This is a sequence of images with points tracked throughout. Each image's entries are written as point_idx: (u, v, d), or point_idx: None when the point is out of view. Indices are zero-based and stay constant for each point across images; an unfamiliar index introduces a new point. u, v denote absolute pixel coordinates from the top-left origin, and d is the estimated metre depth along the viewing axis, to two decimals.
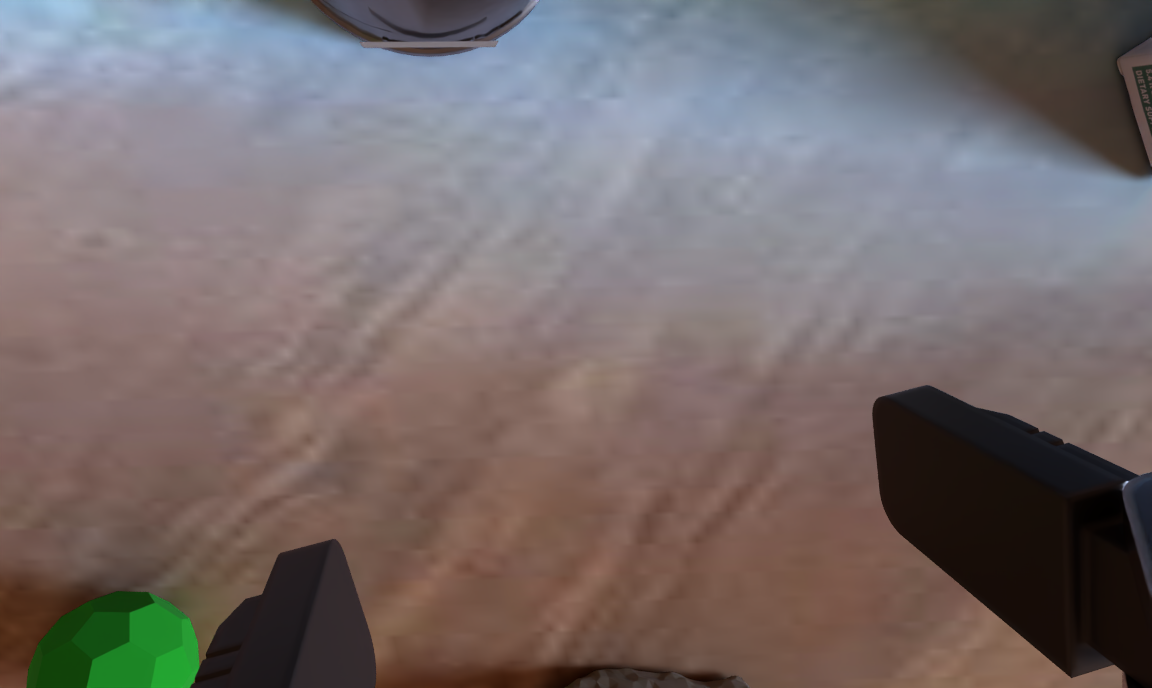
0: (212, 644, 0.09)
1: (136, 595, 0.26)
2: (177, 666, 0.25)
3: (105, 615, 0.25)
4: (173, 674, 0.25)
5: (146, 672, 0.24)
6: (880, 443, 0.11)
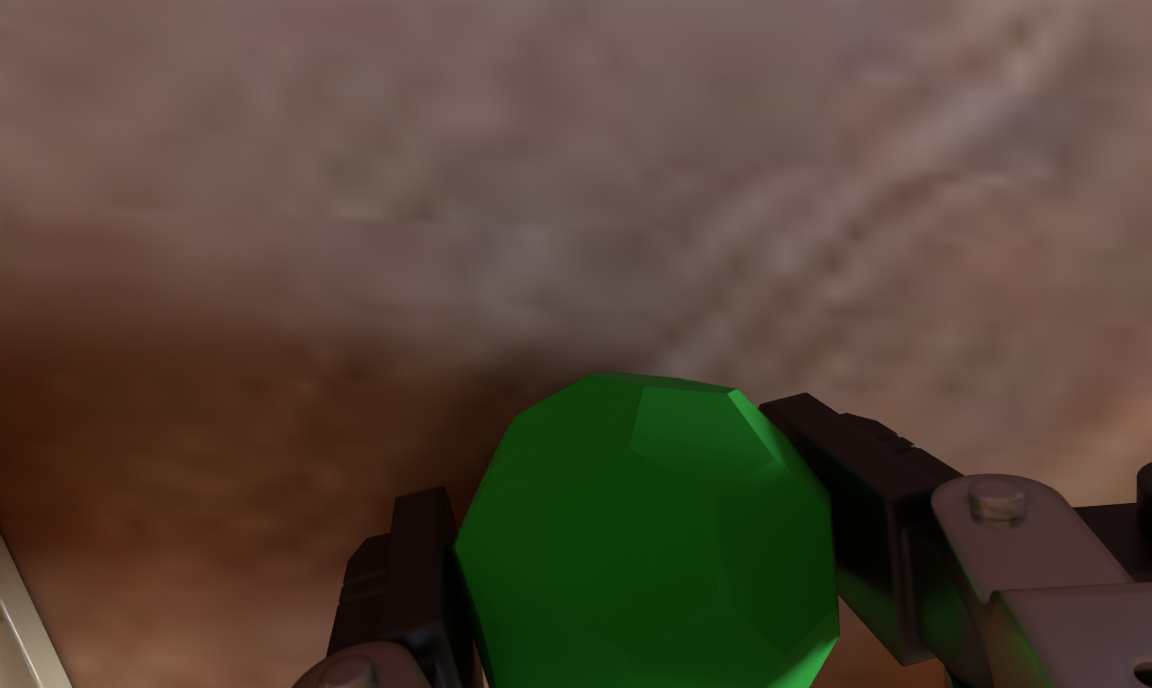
0: (346, 574, 0.10)
1: (667, 378, 0.10)
2: (833, 544, 0.09)
3: (675, 395, 0.09)
4: (834, 564, 0.09)
5: (819, 547, 0.09)
6: None
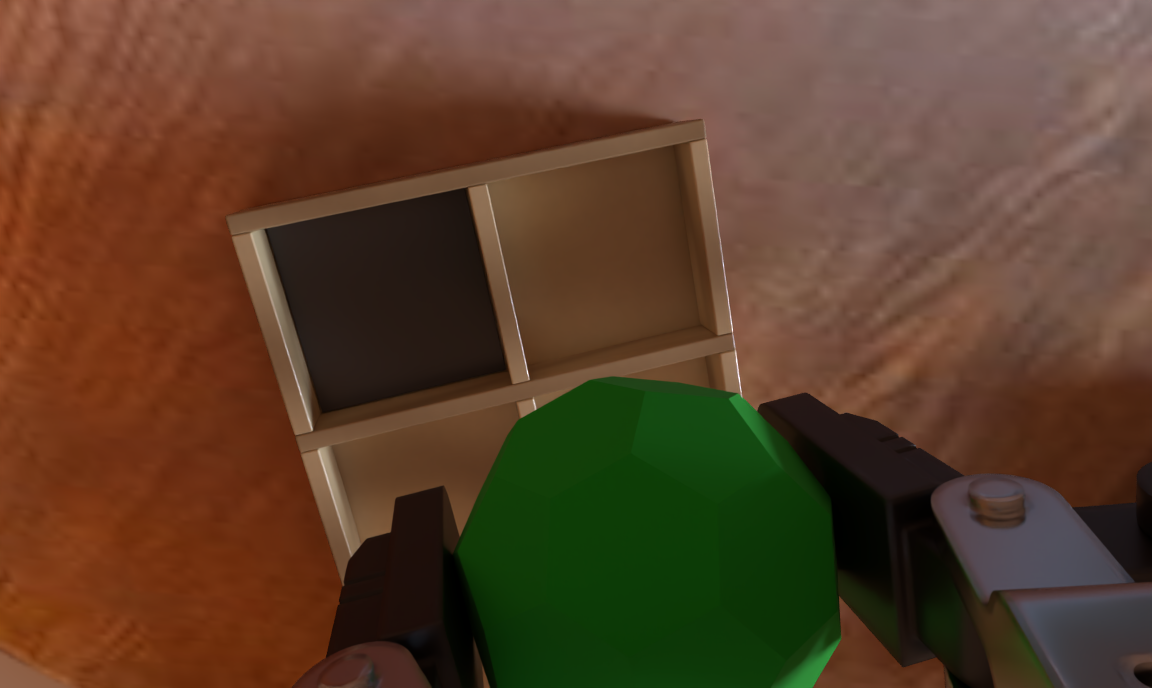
0: (346, 573, 0.10)
1: (669, 382, 0.11)
2: (834, 549, 0.10)
3: (677, 399, 0.09)
4: (835, 568, 0.09)
5: (820, 551, 0.09)
6: None
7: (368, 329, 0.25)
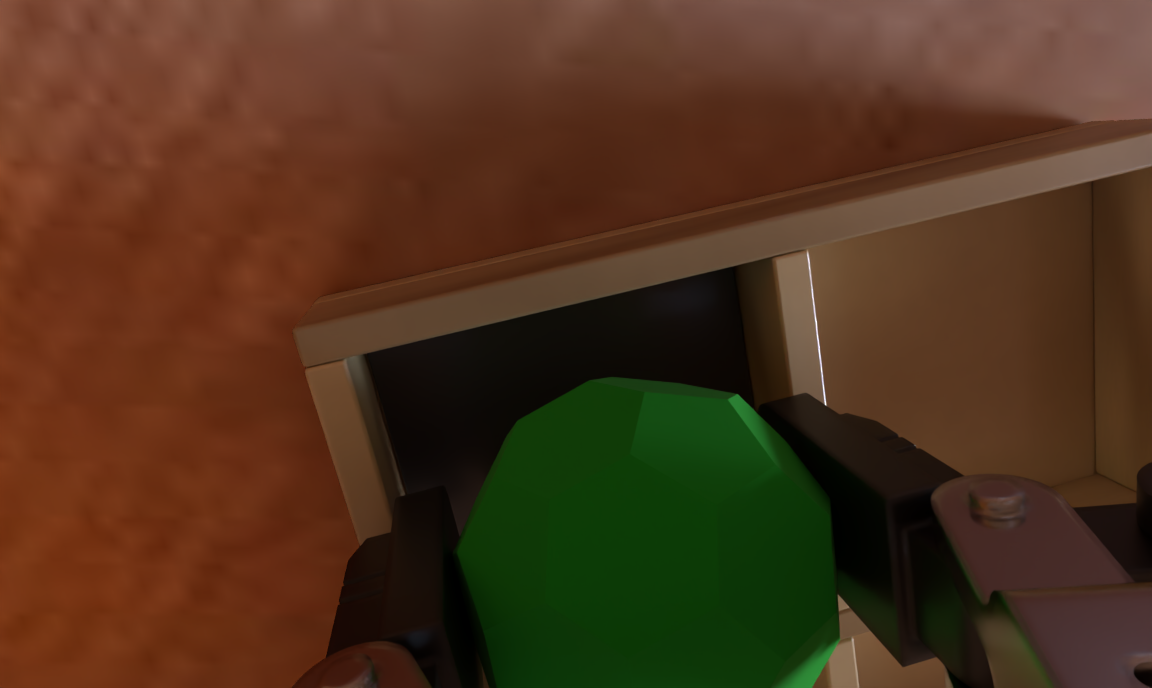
0: (346, 574, 0.10)
1: (668, 383, 0.11)
2: (834, 549, 0.10)
3: (676, 401, 0.09)
4: (834, 569, 0.09)
5: (819, 551, 0.09)
6: None
7: None
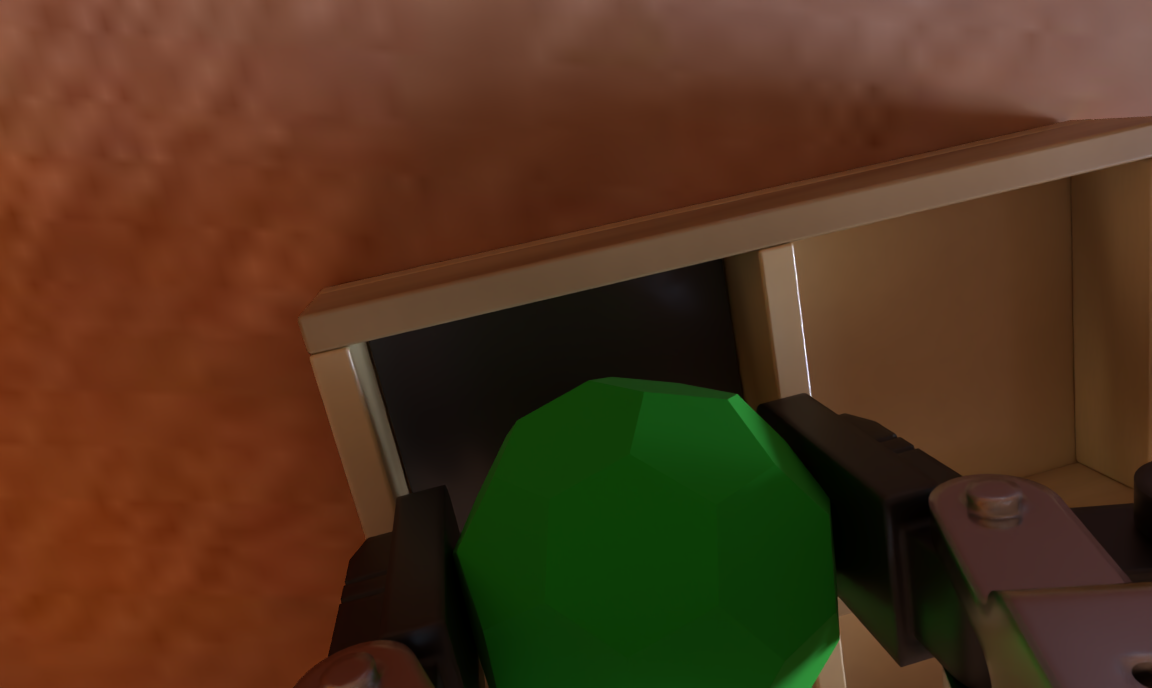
0: (347, 573, 0.10)
1: (668, 383, 0.11)
2: (833, 549, 0.10)
3: (675, 400, 0.09)
4: (834, 569, 0.09)
5: (818, 551, 0.09)
6: None
7: None
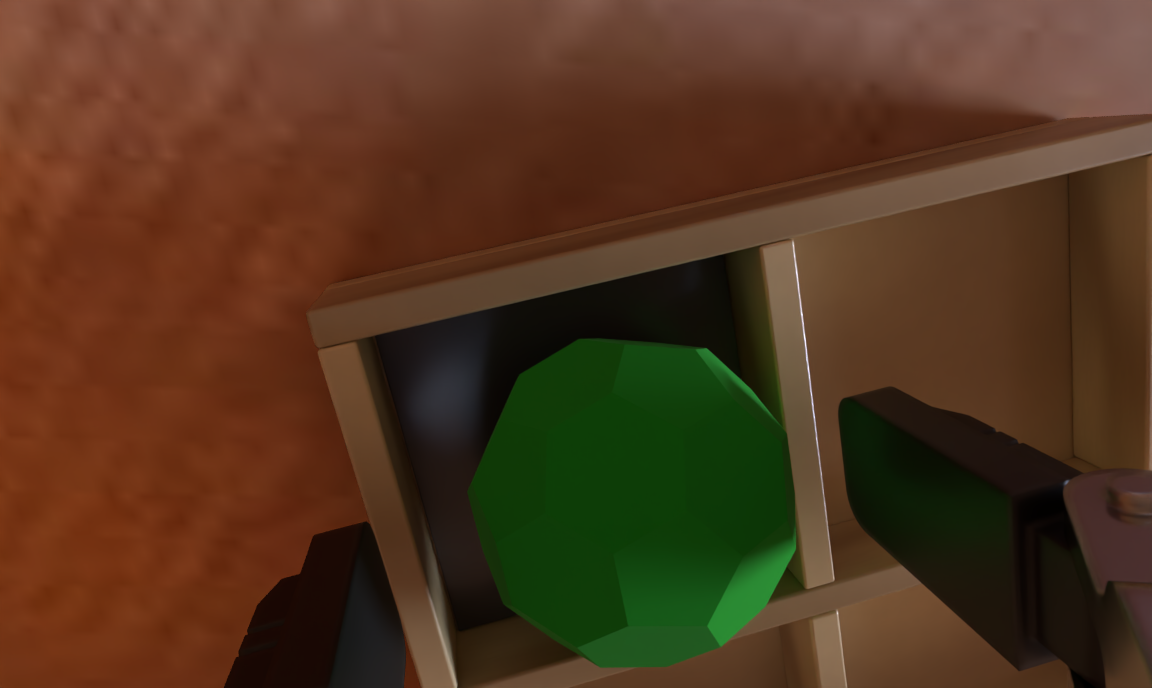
0: (252, 621, 0.09)
1: (648, 342, 0.12)
2: (790, 475, 0.11)
3: (651, 351, 0.11)
4: (790, 490, 0.11)
5: (772, 471, 0.10)
6: (845, 443, 0.11)
7: None
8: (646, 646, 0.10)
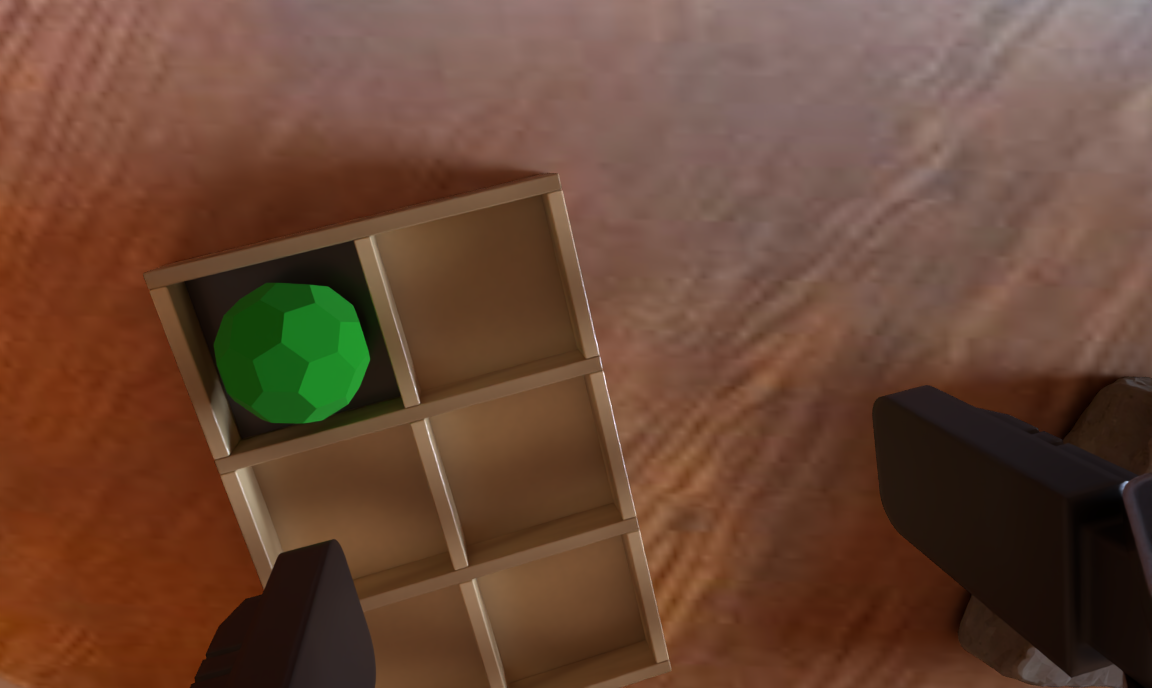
0: (212, 644, 0.09)
1: None
2: (357, 339, 0.26)
3: (287, 285, 0.25)
4: (354, 345, 0.26)
5: (333, 332, 0.25)
6: (880, 443, 0.11)
7: None
8: (281, 407, 0.25)
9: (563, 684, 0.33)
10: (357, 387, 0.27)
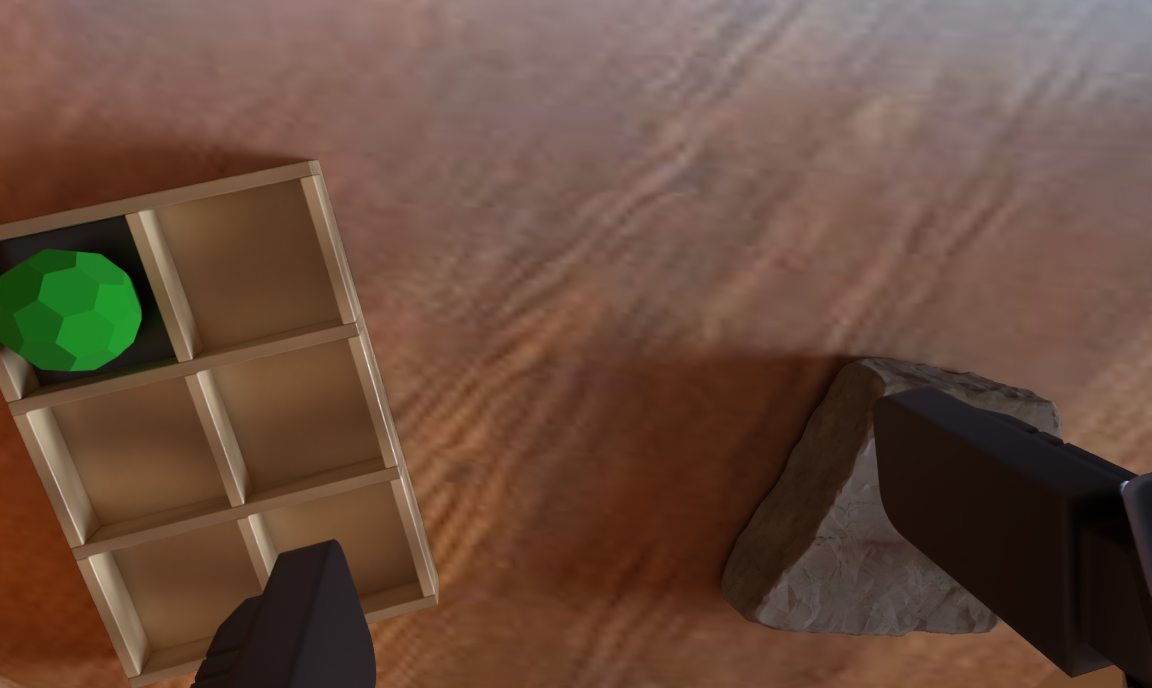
0: (212, 644, 0.09)
1: None
2: (119, 300, 0.30)
3: (56, 251, 0.29)
4: (115, 304, 0.30)
5: (90, 292, 0.29)
6: (880, 443, 0.11)
7: None
8: (46, 355, 0.29)
9: None
10: (128, 342, 0.31)
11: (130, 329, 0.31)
